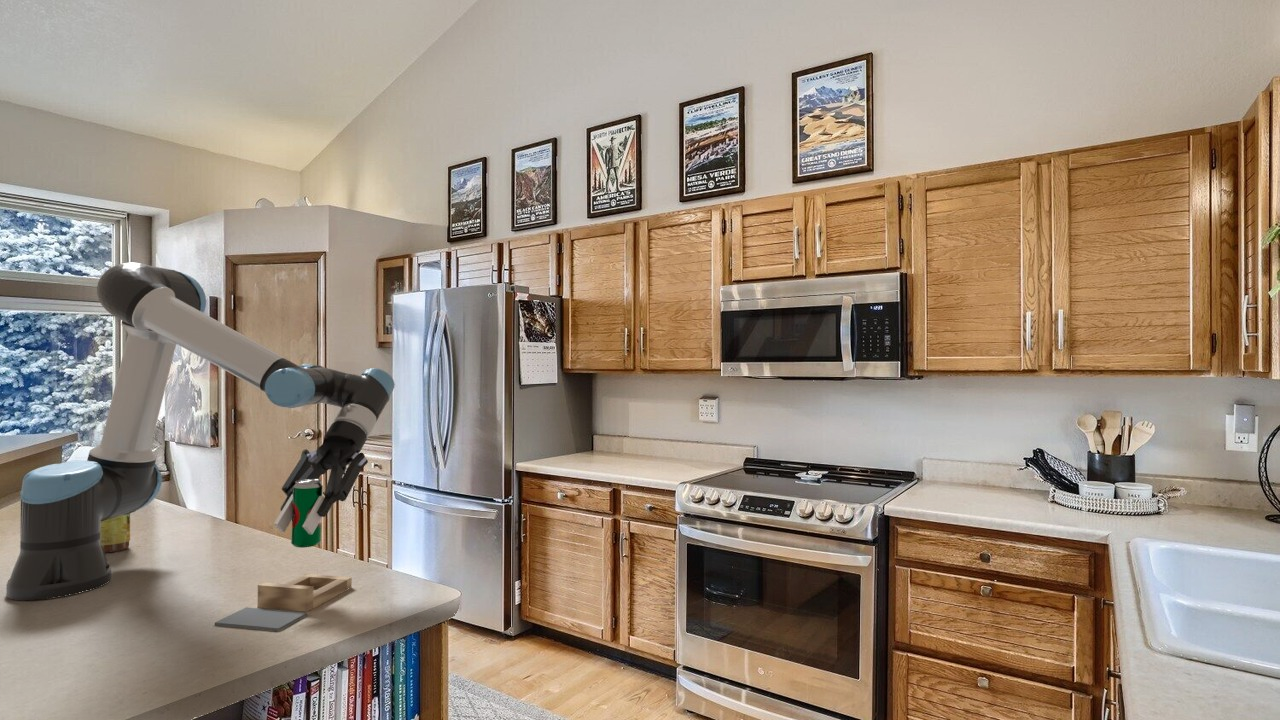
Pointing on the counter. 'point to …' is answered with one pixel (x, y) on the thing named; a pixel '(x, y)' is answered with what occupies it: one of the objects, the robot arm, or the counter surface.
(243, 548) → the counter surface
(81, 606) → the counter surface
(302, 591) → the oak frame
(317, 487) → the soda can
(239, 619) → the rubber mat
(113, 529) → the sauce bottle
